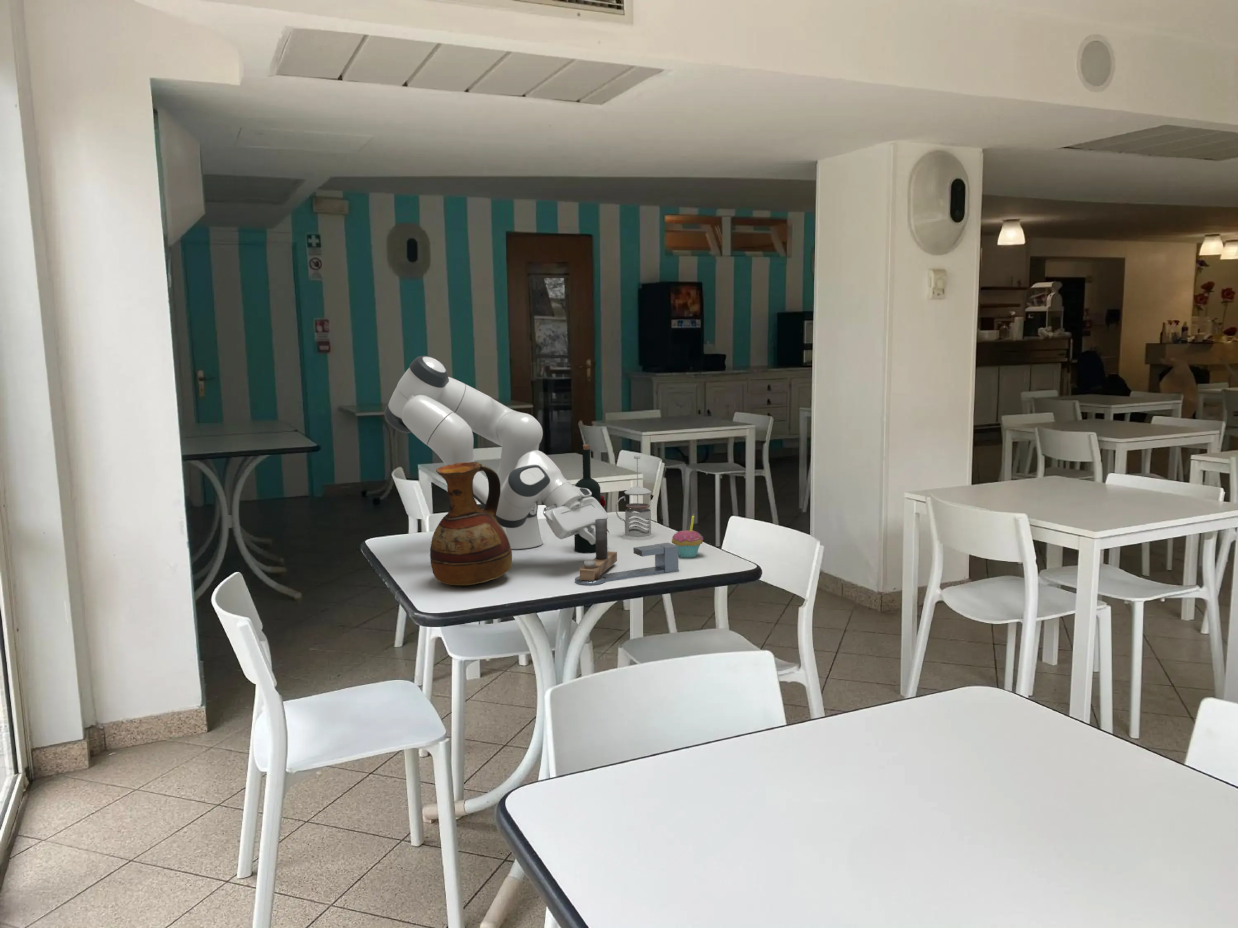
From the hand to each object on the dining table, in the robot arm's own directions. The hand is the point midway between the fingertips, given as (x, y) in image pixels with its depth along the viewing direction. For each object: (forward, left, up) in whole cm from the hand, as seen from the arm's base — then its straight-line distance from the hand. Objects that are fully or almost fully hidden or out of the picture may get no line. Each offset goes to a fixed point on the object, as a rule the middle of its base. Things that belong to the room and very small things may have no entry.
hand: (596, 542), depth 240 cm
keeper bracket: (+10, -1, -7) cm, 12 cm away
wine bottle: (-15, +19, -8) cm, 25 cm away
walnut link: (+3, -3, -6) cm, 8 cm away
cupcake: (+12, +26, -8) cm, 30 cm away
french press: (-14, +40, -8) cm, 43 cm away
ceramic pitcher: (-21, -25, -8) cm, 33 cm away
